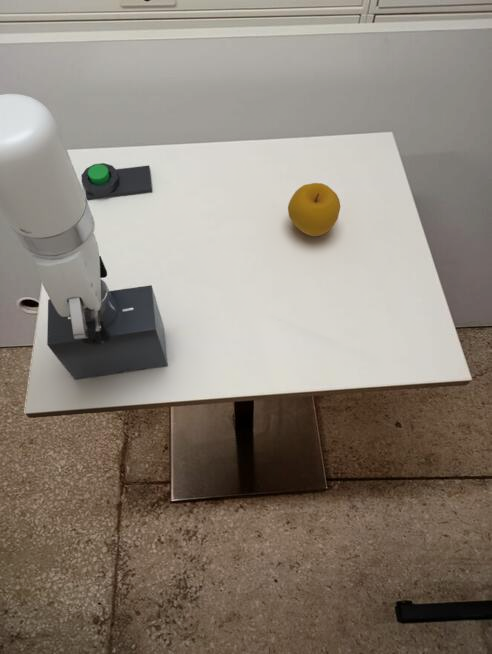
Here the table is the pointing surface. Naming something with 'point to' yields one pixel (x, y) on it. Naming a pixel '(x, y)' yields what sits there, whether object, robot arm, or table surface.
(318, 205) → the apple
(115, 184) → the button block
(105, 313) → the program dial
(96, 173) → the button
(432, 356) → the table surface
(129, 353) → the dial panel
